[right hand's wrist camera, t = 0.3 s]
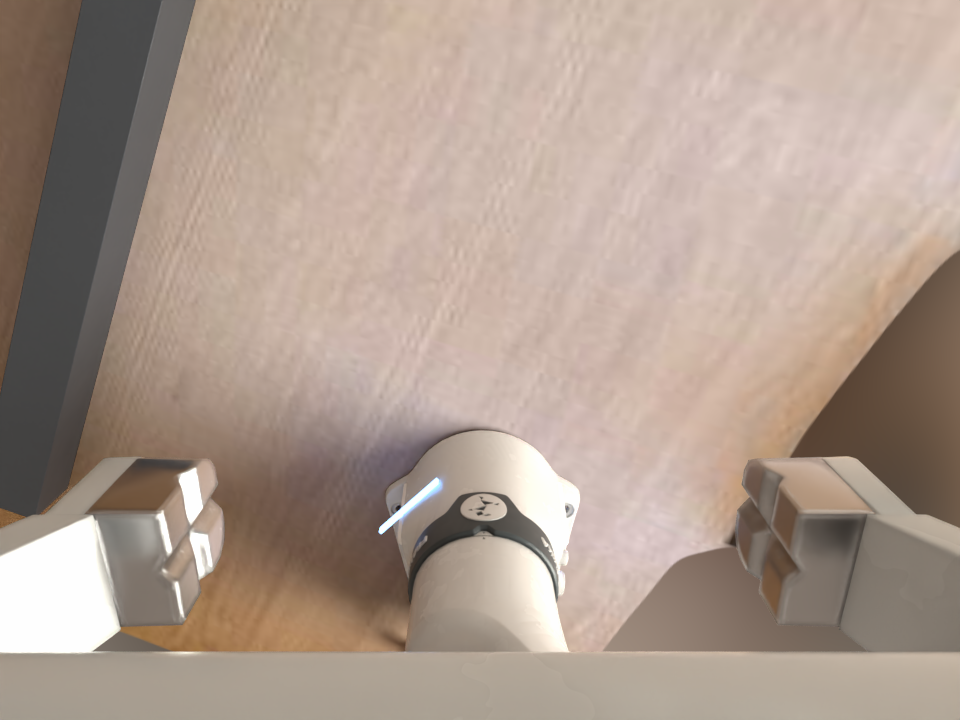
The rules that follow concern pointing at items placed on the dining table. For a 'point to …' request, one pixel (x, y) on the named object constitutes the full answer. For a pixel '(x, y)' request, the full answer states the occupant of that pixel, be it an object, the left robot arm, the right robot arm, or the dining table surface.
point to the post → (84, 236)
